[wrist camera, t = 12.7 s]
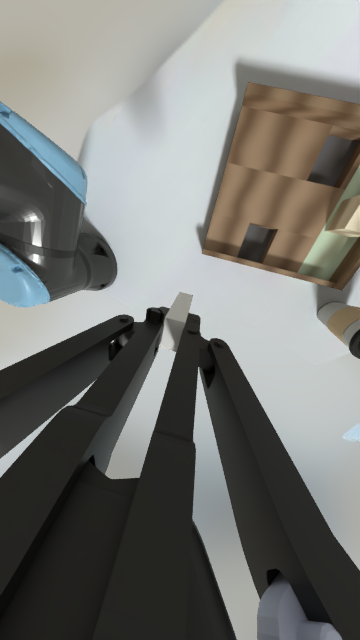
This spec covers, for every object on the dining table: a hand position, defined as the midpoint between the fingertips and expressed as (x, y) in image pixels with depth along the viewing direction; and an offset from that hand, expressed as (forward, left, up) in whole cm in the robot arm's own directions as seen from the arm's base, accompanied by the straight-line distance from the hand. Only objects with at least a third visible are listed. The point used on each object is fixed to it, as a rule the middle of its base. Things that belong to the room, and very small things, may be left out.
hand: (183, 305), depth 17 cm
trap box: (+15, +17, -26) cm, 34 cm away
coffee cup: (+36, -1, -26) cm, 44 cm away
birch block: (+25, +17, -24) cm, 38 cm away
